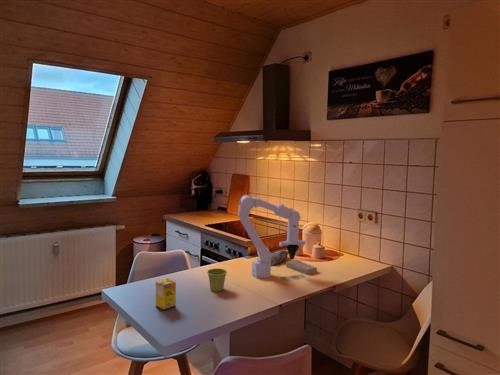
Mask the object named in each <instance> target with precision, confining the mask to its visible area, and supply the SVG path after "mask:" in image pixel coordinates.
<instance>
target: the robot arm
mask: <svg viewBox="0 0 500 375" xmlns="http://www.w3.org/2000/svg"><path fill="white" fill-rule="evenodd" d="M253 208H255V209H256V208H264V209H266V210H269V211H271V212H273V213H274V215H276V216H278V217H280V218H283V219H286V220H287V232H286V240H284V241H279V243H278V246H279V247H286V249H287V251H288V252H289V254H288V257H289V259H290V260H295V256H296V254H297V251H298V250H299V248H300V247H299V246H300V245H303V246H304V245H305V246H306V242H307V241H306V240H303V239H302V240H301V239H299V234H300V232H299V231H300V230H299V229H300V227H299V224H300V223H299V222H300V220H301V218H302V216H301V215H300V212H299V211H297V210H296V209H294V208H292V207H287V206H285V205H284V204H283V203H281V204H276V205H275V204H273V203H271V202H268V201H266V200H263V199H261V198H259V197H256V196H250V195H248V194H244V195H243V196H241V198H240V199H239V202H238V214H237V216H238V218H239V221H240V222H241V224H242V226H243V227H244V230H245V231H246V233H247V235H248V237H249V238H250V240H251V242H252V243H253V246H254V247H255V249H256V253H257V255H258V257H257V259H256V260H255V261H253V262H252V263H251V276H253V277H254V278H255V279H261V278H262V279H264V278H265V279H266V278H270V277H271V271H272V270H271V269H272V268H271V267H272V266H271V258H272V252H271V251H270V250H269V248H268V247H267V246H266V245H265V243H264V242H263V240H262V239H261V237H260V235H259V233H258V231H257V229H256V228H255V226H254V224H253V223H252V220H251V219H250V217H249V216H250V212H251V211H252V210H253Z"/></svg>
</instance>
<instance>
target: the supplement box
mask: <svg viewBox="0 0 500 375" xmlns="http://www.w3.org/2000/svg"><path fill="white" fill-rule="evenodd" d="M176 285H177V282H176V280H172V279H170V278H165V279H161V280H160V279H159V280H157V281H155V308H157V309H160V310H161V311H163V312H165V311H167V310H171V309H173V308H176V305H177V304H176V299H177V298H176V296H177V295H176V294H177V293H176V291H177V290H176Z"/></svg>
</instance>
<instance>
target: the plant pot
mask: <svg viewBox="0 0 500 375" xmlns="http://www.w3.org/2000/svg"><path fill="white" fill-rule="evenodd" d="M206 273H207V276H208V279H209V280H208V281H209V289H210V291H213V292H221V291H223V290H224V286H225V281H226V276H227V274H228V270H227V269H224V268H211V269H208V270H207V271H206Z"/></svg>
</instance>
